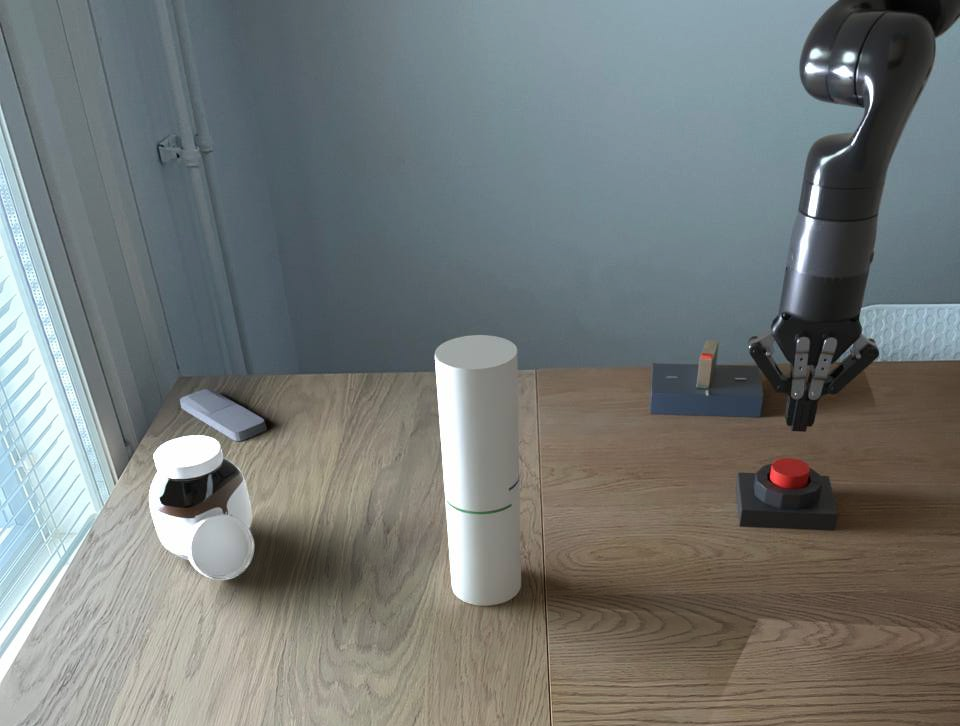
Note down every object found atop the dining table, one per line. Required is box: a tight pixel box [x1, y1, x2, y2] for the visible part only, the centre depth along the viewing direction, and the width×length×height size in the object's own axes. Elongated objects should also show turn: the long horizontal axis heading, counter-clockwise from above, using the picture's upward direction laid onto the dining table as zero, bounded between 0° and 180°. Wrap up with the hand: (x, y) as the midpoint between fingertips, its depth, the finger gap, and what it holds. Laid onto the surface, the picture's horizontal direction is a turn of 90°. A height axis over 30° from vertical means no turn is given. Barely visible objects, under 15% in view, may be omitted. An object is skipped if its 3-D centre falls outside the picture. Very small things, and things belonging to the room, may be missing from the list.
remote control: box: [179, 388, 268, 442], centre depth 132 cm, size 5×2×15 cm
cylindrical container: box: [434, 334, 522, 607], centre depth 93 cm, size 7×7×25 cm
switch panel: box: [649, 362, 764, 418], centre depth 129 cm, size 14×10×3 cm
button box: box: [735, 462, 839, 532], centre depth 108 cm, size 10×8×4 cm
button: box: [770, 457, 811, 489], centre depth 106 cm, size 4×4×2 cm
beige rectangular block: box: [697, 339, 720, 389], centre depth 127 cm, size 6×2×4 cm, turn 161°
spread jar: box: [148, 434, 255, 581], centre depth 103 cm, size 12×11×12 cm
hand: (797, 427), depth 103 cm, fingers closed
